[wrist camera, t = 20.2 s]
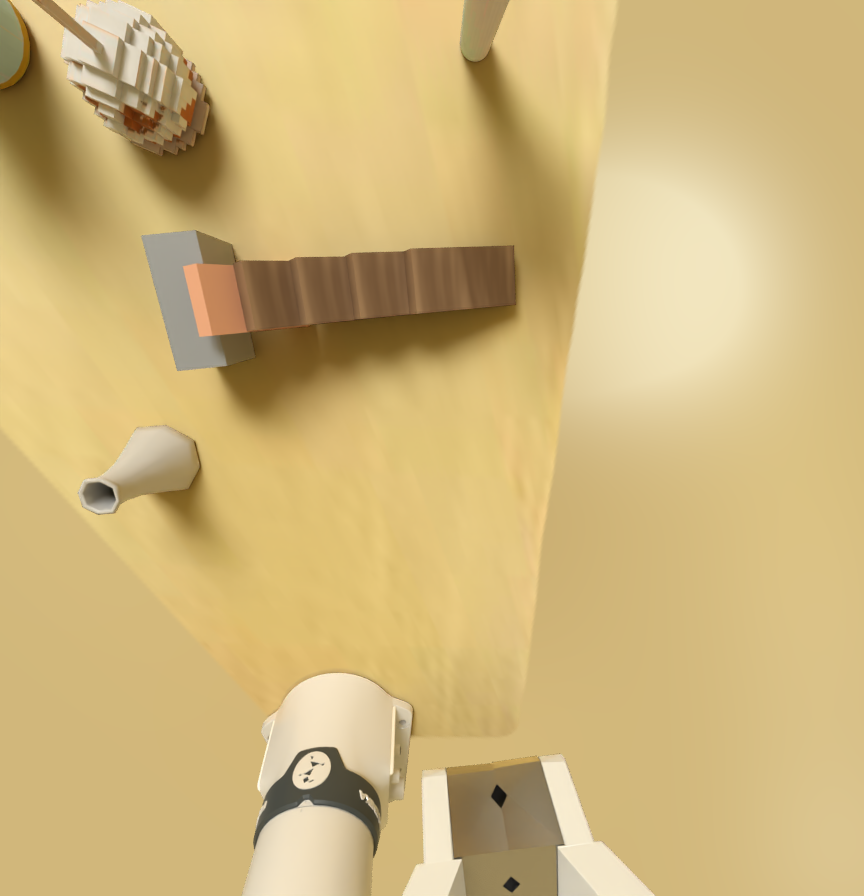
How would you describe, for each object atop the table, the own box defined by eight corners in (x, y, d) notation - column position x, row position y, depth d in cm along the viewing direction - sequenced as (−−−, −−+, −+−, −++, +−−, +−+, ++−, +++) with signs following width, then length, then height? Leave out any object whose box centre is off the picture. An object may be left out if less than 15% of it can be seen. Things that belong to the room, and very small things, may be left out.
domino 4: (458, 250, 39) (351, 252, 35) (462, 308, 41) (360, 318, 36) (449, 252, 40) (345, 256, 36) (453, 309, 42) (354, 319, 38)
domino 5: (513, 245, 39) (410, 248, 35) (515, 304, 41) (416, 313, 37) (503, 248, 41) (403, 251, 37) (505, 305, 42) (409, 314, 38)
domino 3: (406, 255, 39) (295, 257, 34) (412, 314, 41) (307, 324, 35) (396, 258, 40) (289, 260, 35) (402, 315, 42) (300, 325, 37)
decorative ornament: (104, 132, 37) (-93, 15, 22) (121, 25, 35) (-82, -179, 20) (198, 172, 38) (70, 86, 23) (220, 71, 36) (95, -90, 21)
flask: (197, 497, 46) (142, 545, 37) (125, 482, 45) (49, 527, 36) (205, 432, 44) (148, 465, 35) (129, 416, 43) (50, 445, 34)
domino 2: (352, 261, 39) (241, 260, 33) (360, 319, 41) (255, 330, 34) (341, 263, 40) (232, 263, 34) (349, 320, 42) (246, 330, 35)
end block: (255, 357, 42) (227, 365, 36) (213, 361, 42) (177, 370, 36) (231, 244, 39) (195, 230, 33) (186, 248, 39) (141, 235, 33)
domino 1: (299, 268, 39) (196, 263, 31) (309, 326, 41) (212, 335, 33) (287, 270, 40) (182, 266, 32) (296, 327, 42) (199, 336, 34)
